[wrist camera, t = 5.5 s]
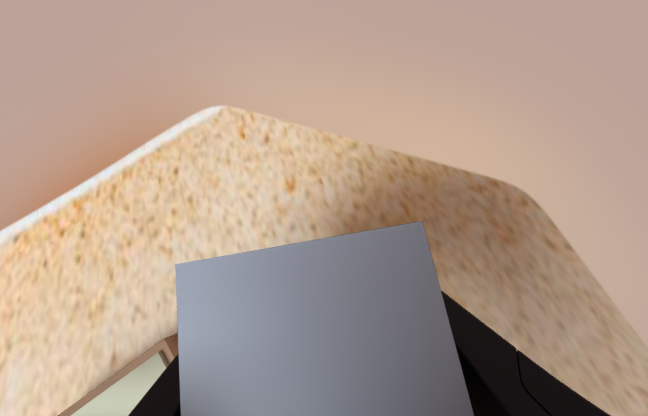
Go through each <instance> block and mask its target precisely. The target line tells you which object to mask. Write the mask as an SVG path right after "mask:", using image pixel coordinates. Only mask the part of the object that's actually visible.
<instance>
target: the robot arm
mask: <svg viewBox="0 0 648 416" xmlns="http://www.w3.org/2000/svg"><path fill="white" fill-rule="evenodd" d="M441 293H442V297H443V301H444V304H445V308H446V312H447V316H448V319H449V323H450V327H451V331H452V334H453V338H454V342H455V346H456V350H457V353H458V357H459V361H460V365H461V368H462V372H463V376H464V380H465V383H466V387H467V391H468V395H469V399H470V402H471V406H472V410H473V414H474V416H610V415H609V414H607V413H606V412H604V411H603V410H601V409H600V408H598V407H597V406H595V405H594V404H592V403H591V402H589V401H588V400H586V399H585V398H583V397H582V396H580V395H579V394H578V393H576V392H575V391H573V390H572V389H570V388H569V387H568V386H566V385H565V384H563V383H562V382H560V381H559V380H557V379H556V378H555V377H553V376H552V375H551V374H549V373H548V372H547V371H545V370H544V369H543V368H541V367H540V366H539V365H537V364H536V363H535V362H533V361H532V360H531V359H529V358H528V357H527V356H526V355H524V354H523V353H522V352H520V351H518V350H517V351H516V348H515V347H514V346H512V345H511V344H510V343H509V342H507V341H506V340H505V339H503V338H502V337H501V336H499V335H498V334H497V333H496V332H494V331H493V330H492V329H490V328H489V327H488V326H487V325H485V324H484V323H483V322H481V321H480V320H479V319H477V318H476V317H475V316H474V315H472V314H471V313H470V312H468V311H467V310H466V309H465V308H463V307H462V306H461V305H459V304H458V303H457V302H455V301H454V300H453V299H452V298H450V297H449V296H448V295H446V294H445V293H444V292H443V291H441ZM128 416H181V405H180V377H179V353H178V354H177V355H176V356H175V358H174V359H173V360H172V361H171V363H170V364H169V365H168V366H167V368H166V369H165V370H164V371H163V373H162V374H161V375H160V376H159V378H158V379H157V380H156V381H155V383H154V384H153V385H152V386H151V388H150V389H149V390H148V391H147V393H146V394H145V395H144V396H143V398H142V399H141V400H140V401H139V403H138V404H137V405H136V406H135V408H134V409H133V410H132V411H131V413H130V414H129V415H128Z"/></svg>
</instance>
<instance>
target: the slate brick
mask: <svg viewBox="0 0 648 416" xmlns="http://www.w3.org/2000/svg"><path fill="white" fill-rule="evenodd" d="M175 267H176V295H177V322H178V350H179V377H180V405H181V416H474V414H473V410H472V406H471V402H470V399H469V395H468V391H467V387H466V383H465V380H464V376H463V372H462V368H461V365H460V361H459V357H458V353H457V350H456V346H455V342H454V338H453V334H452V331H451V327H450V323H449V319H448V316H447V312H446V308H445V304H444V301H443V297H442V293H441V289H440V285H439V282H438V278H437V274H436V270H435V267H434V263H433V259H432V255H431V252H430V248H429V244H428V240H427V236H426V233H425V229H424V225H423V221H420V222H414V223H408V224H403V225H397V226H391V227H386V228H380V229H374V230H369V231H363V232H357V233H351V234H346V235H340V236H334V237H329V238H323V239H317V240H312V241H306V242H300V243H295V244H289V245H283V246H278V247H272V248H266V249H260V250H255V251H249V252H243V253H238V254H232V255H226V256H221V257H215V258H209V259H204V260H198V261H192V262H187V263H181V264H175Z"/></svg>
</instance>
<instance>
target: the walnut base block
mask: <svg viewBox="0 0 648 416" xmlns="http://www.w3.org/2000/svg"><path fill="white" fill-rule="evenodd" d="M178 353H179V350H178V333H177V334H175V335H173V336H170V337H168V338H165V339H164V340H162V341H161V342H159V343H158V344H157V345H155V346H154V347H152V348H151V349H150V350H148V351H147V352H145V353H144V354H143V355H141V356H140V357H139V358H137V359H136V360H134V361H133V362H132V363H130V364H129V365H127V366H126V367H125V368H123V369H122V370H120V371H119V372H118V373H116V374H115V375H113V376H112V377H111V378H109V379H108V380H107V381H105V382H104V383H102V384H101V385H100V386H98V387H97V388H95V389H94V390H93V391H91V392H90V393H88V394H87V395H86V396H84V397H83V398H81V399H80V400H79V401H77V402H76V403H75V404H73V405H72V406H70V407H69V408H68V409H66V410H65V411H63V412H62V413H61V414H59V415H58V416H128V415H129V414H130V413H131V411H132V410H133V409H134V408H135V406H136V405H137V404H138V403H139V401H140V400H141V399H142V398H143V396H144V395H145V394H146V393H147V391H148V390H149V389H150V388H151V386H152V385H153V384H154V383H155V381H156V380H157V379H158V378H159V376H160V375H161V374H162V373H163V371H164V370H165V369H166V368H167V366H168V365H169V364H170V363H171V361H172V360H173V359H174V358H175V356H176V355H177V354H178Z"/></svg>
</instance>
